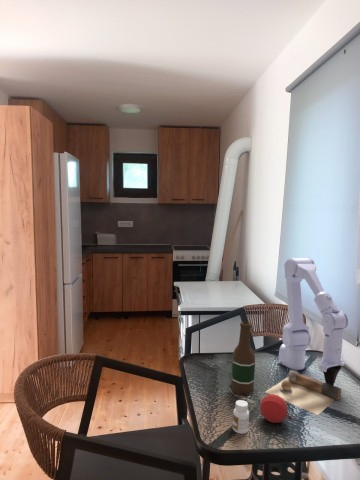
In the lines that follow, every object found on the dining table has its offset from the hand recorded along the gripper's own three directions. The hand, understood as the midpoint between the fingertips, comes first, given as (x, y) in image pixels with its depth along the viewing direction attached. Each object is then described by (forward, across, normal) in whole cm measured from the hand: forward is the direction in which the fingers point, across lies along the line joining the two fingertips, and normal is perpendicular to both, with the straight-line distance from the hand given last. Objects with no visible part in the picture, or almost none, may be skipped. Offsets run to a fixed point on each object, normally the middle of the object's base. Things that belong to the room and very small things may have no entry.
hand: (329, 385), depth 122 cm
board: (+3, -10, +5) cm, 12 cm away
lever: (+1, -4, +4) cm, 6 cm away
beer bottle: (+3, -21, +21) cm, 30 cm away
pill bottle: (+3, -39, +9) cm, 41 cm away
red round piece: (+3, -28, +5) cm, 29 cm away
